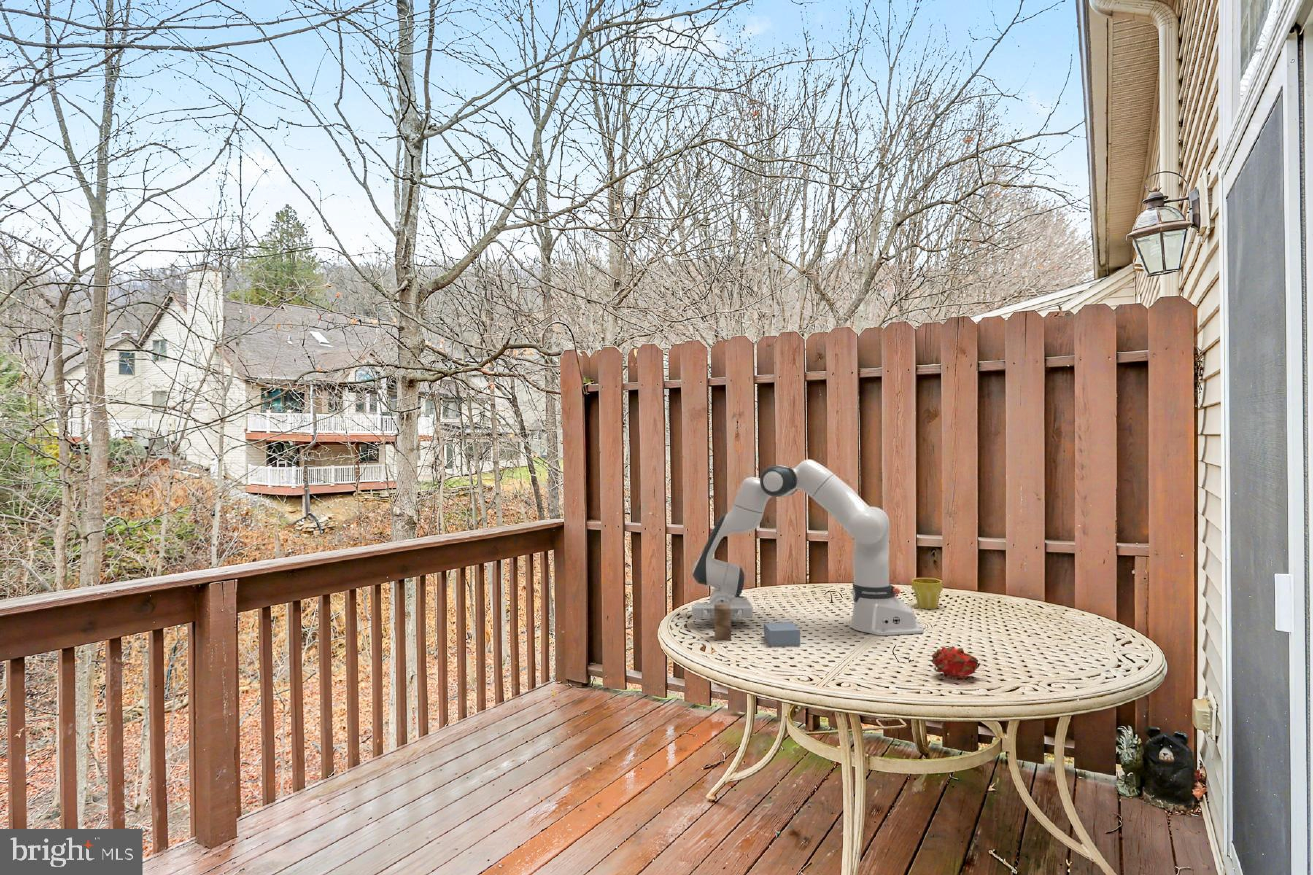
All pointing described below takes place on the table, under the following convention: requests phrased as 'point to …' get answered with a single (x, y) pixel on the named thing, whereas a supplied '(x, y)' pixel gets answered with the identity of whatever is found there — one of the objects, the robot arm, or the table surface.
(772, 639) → the slate block
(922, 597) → the plant pot
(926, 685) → the table surface
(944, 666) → the dragon fruit
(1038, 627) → the table surface
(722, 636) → the walnut block
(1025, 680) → the table surface
